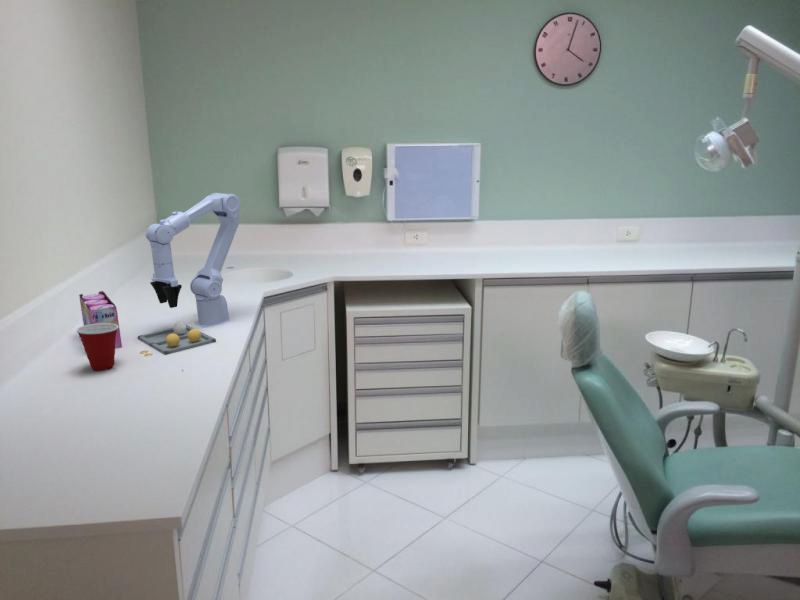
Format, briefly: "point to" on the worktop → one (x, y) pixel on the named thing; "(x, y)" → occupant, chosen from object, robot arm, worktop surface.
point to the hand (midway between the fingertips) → (168, 304)
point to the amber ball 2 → (194, 335)
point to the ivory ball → (179, 328)
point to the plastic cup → (99, 344)
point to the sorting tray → (159, 342)
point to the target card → (146, 354)
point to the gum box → (100, 312)
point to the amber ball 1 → (172, 340)
